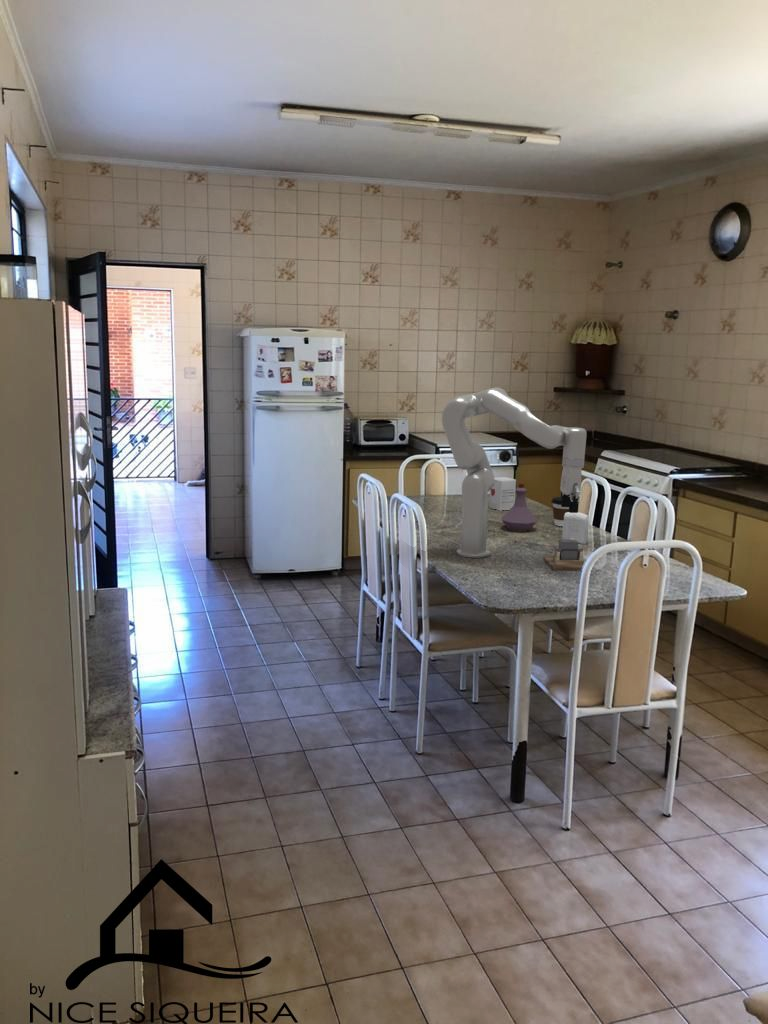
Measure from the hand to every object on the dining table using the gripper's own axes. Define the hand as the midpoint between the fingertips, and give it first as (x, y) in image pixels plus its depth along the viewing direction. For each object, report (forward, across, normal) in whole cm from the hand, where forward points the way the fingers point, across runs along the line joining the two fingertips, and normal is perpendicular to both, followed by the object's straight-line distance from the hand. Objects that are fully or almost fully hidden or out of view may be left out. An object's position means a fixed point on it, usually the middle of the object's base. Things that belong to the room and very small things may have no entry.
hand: (569, 509), depth 293 cm
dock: (+20, 0, +1) cm, 21 cm away
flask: (+21, -56, -4) cm, 60 cm away
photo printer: (+21, -35, +14) cm, 43 cm away
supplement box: (+21, -98, -4) cm, 101 cm away
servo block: (+19, 0, +1) cm, 19 cm away
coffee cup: (+21, -64, +16) cm, 69 cm away
